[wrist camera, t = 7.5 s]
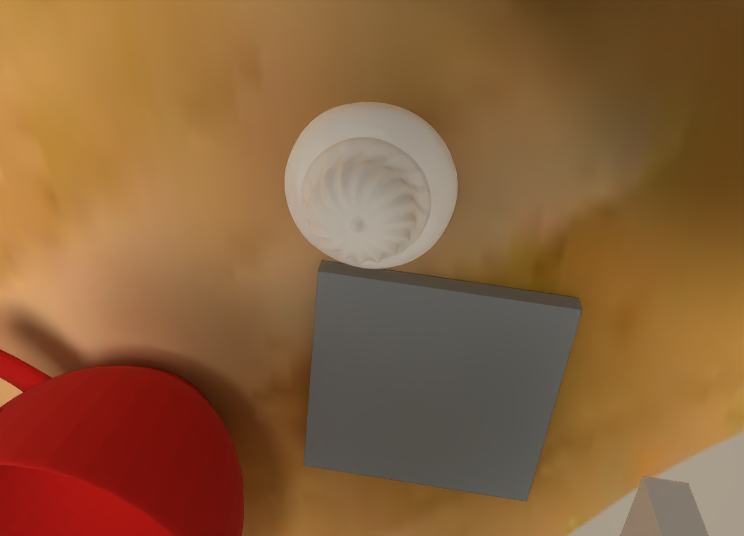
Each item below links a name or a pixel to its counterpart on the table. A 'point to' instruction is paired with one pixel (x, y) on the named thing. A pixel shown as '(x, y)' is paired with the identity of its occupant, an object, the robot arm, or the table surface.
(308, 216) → the white fluted round figurine
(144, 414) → the ceramic cup
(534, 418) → the coaster
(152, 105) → the table surface
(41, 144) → the table surface
